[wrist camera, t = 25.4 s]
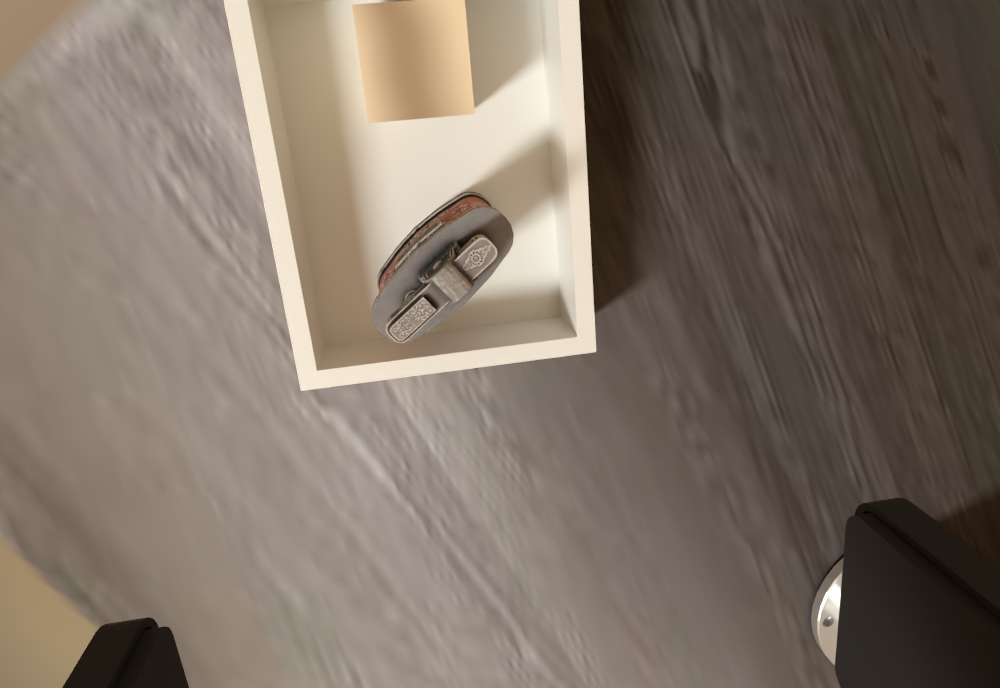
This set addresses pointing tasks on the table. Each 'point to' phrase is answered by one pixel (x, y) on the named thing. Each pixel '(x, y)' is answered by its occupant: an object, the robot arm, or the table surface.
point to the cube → (414, 59)
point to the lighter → (440, 266)
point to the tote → (419, 185)
